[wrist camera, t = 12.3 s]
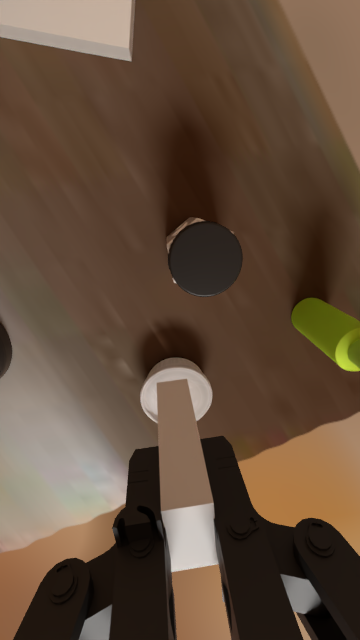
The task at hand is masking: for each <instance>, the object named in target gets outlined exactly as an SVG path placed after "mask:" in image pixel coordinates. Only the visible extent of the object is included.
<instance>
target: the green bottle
mask: <svg viewBox="0 0 360 640" xmlns="http://www.w3.org/2000/svg"><path fill="white" fill-rule="evenodd" d="M291 320H292V324H293V325H294V327H295V328H296V329H297V330H298V331H300V332H301V333H302V334H303V335H304V336H305V337H307V338H308V339H309V340H310V341H311V342H312V343H314V344H315V345H316V346H317V347H318V348H319V349H320V350H322V351H323V352H324V353H325V354H326V355H327V356H329V357H330V358H331V359H332V360H333V361H334V362H336V363H337V364H338V365H339V366H340V367H341V368H343V369H345V370H348V371H360V321H358V320H356V319H355V318H353V317H351V316H349V315H347V314H345V313H344V312H342V311H340V310H338V309H336V308H335V307H333V306H331V305H329V304H327V303H325V302H324V301H322V300H320V299H318V298H306V299H304V300H302V301H300V302H299V303H298V304H297V305H296V306H295V307H294V309H293V311H292V315H291Z"/></svg>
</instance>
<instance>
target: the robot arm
mask: <svg viewBox="0 0 360 640" xmlns="http://www.w3.org/2000/svg"><path fill="white" fill-rule="evenodd" d="M11 358H12V348H11V343H10V339H9V337H8V335H7V333H6V331H5V329H4V328H3V326H2V325H1V324H0V378H1V377H2V376H3V375H4V374H5V373H6V371H7V370H8V368H9V366H10V363H11ZM157 410H158V440H159V446H156V447H149V448H142V449H136V450H135V451H134V453H133V455H132V457H131V459H130V460H129V471H128V474H129V475H128V485H127V495H126V507H125V508H124V509H122V510H121V511H120V513H119V514H118V515H117V517H116V518H115V521H114V524H113V527H112V529H113V533H114V536H115V540H116V543H115V544H114V546H113V547H111V549H110V550H108V551H106V552H105V553H104V554H102V555H100V556H98V557H96V558H94V559H92V560H91V561H89V562H87V563H85V562H84V561H83V560H80V559H77V558H70V559H66V560H64V561H62V562H60V563H58V564H56V565H55V566H54V567H53V568H52V569H51V570H50V571H49V572H48V573H47V574H46V576H45V577H44V579H43V581H42V582H41V583H40V585H39V587H38V590H37V592H36V594H35V596H34V598H33V600H32V602H31V604H30V606H29V608H28V610H27V612H26V614H25V616H24V618H23V621H22V622H21V625H20V627H19V629H18V631H17V633H16V635H15V637H14V639H13V640H177V635H176V620H175V604H174V593H173V587H172V573H171V572H174V571H180V570H186V569H192V568H198V567H204V566H210V565H216V564H219V568H220V573H221V583H222V595H223V602H225V606H226V612H227V617H228V623H229V628H230V633H231V639H232V640H303V637H302V635H301V632H300V629H299V626H298V623H297V621H296V618H295V615H294V612H293V611H295V612H296V613H297V615H298V617H299V618H300V620H301V622H302V624H303V625H304V627H305V629H306V631H307V633H308V634H309V636H310V638H311V640H360V556H359V555H358V554H357V553H356V552H355V550H354V549H353V548H352V547H351V546H350V545H349V543H348V542H347V541H346V540H345V539H344V537H343V536H342V535H341V534H340V533H339V532H338V531H337V530H336V529H335V528H334V527H333V526H332V525H331V524H329V523H327V522H325V521H323V520H321V519H315V518H308V519H303V520H302V521H300V522H299V523H298V524H297V525H296V527H289V526H284V525H278V524H275V523H271V522H269V521H267V520H266V519H264V518H263V517H261V516H260V515H259V514H258V513H257V512H256V510H255V509H254V508H253V505H252V504H251V501H250V498H249V495H248V492H247V489H246V486H245V484H244V481H243V478H242V475H241V472H240V469H239V467H238V463H237V460H236V458H235V454H234V451H233V448H232V445H231V444H230V443H229V442H228V441H227V440H226V439H225V437H224V436H218V437H212V438H205V439H200V437H199V432H198V427H197V423H196V418H195V413H194V409H193V404H192V399H191V395H190V390H189V385H188V381H187V379H180V380H173V381H166V382H158V383H157Z"/></svg>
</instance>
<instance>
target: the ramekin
mask: <svg viewBox="0 0 360 640" xmlns="http://www.w3.org/2000/svg"><path fill="white" fill-rule="evenodd" d="M180 379H187V381H188V385H189V390H190V395H191V399H192V404H193V409H194V413H195V418H196V421H197V420H199V419H200V418H201V417H202V416H203V415H204V414H205V413H206V412H207V410H208V409H209V407H210V405H211V402H212V388H211V385H210V382H209V380H208V379H207V377H206V376H205V375H204V374H203V373H202V371H201V370H200V368H199V367H198V366H197V365H196V364H195V363H193V362H192V361H189V360H188V359H184V358H177V357H176V358H168V359H165V360H162V361H161V362H159V363H157V364H156V365H155V366H154V367H153V368H152V370H151V371H150V373H149V374H148V376H147V378H146V380H145V381H144V383H143V385H142V388H141V392H140V401H141V406H142V408H143V410H144V412H145V413H146V414H147V416H148V417H150V418H151V419H152V420H153V421H155V422H157V423H158V410H157V383H158V382H166V381H173V380H180Z"/></svg>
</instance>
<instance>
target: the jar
mask: <svg viewBox="0 0 360 640" xmlns="http://www.w3.org/2000/svg"><path fill="white" fill-rule="evenodd" d="M166 243H167V250H168V261H169V262H168V265H169V269H170V271H171V274H172V277H173V282H174V283H177V284H178V285H179V287H181V288H182V289H183V290H184V291H186V292H187V293H189V294H192V295H195V296H200V297H209V296H214V295H217V294H220V293H222V292H223V291H225V290H226V289H228V288H229V287H230V286H231V285H232V284H233V283H234V282H235V280H236V279H237V277H238V275H239V273H240V270H241V267H242V258H243V257H242V249H241V246H240V243H239V241H238V240H237V238H236V236H235V235H234V232H233V231H230V230H229V229H227V228H226V227H224V226H222V225H220V224H217V223H216V222H210V221H205V220H202V219H200V218H195V217H189V218H188V219H187V220H186V221H184V222H183V223H182V224H181V225H180V226H179V227H178V228H176V229H175V230H174V231H173V232H172V233H171V234H170V235H169V236H167V237H166Z"/></svg>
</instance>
